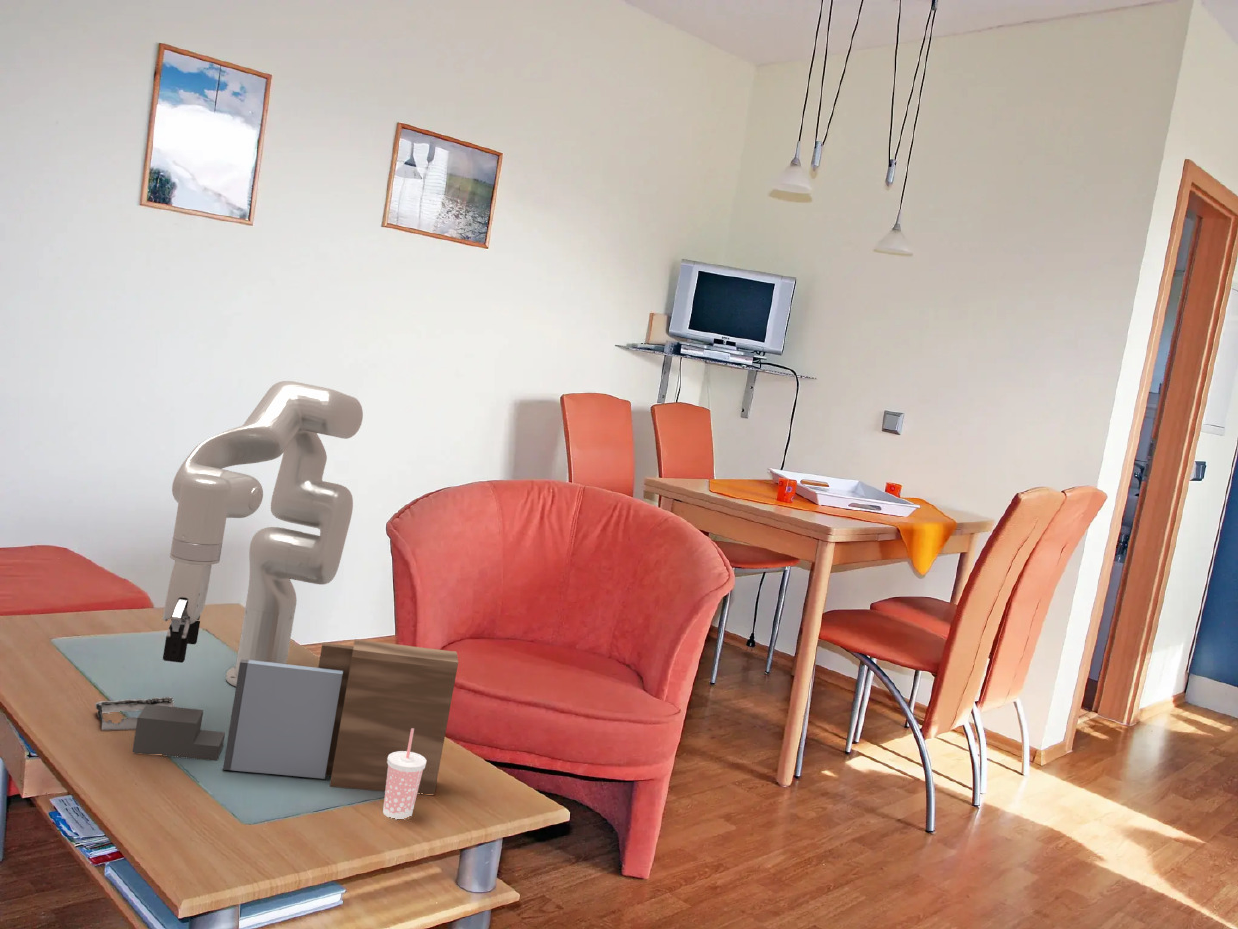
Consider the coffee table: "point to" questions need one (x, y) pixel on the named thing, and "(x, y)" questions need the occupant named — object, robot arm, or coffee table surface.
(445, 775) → the coffee table surface
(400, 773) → the beverage cup
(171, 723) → the grey stepped block
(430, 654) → the door wall
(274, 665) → the sliding door
